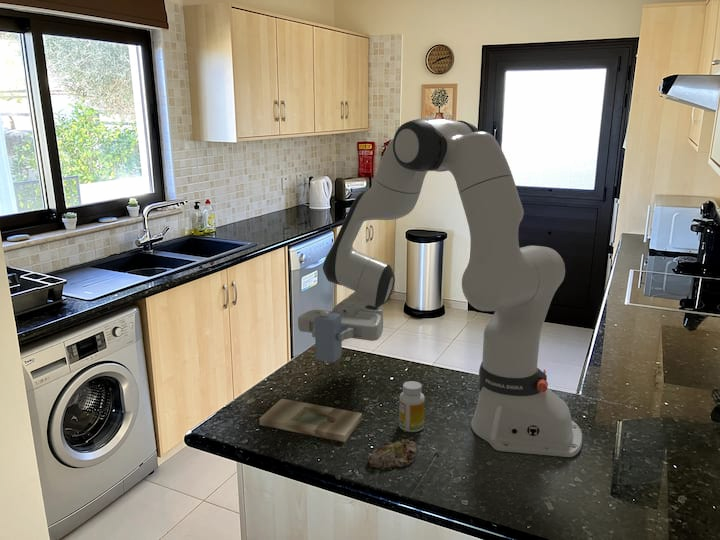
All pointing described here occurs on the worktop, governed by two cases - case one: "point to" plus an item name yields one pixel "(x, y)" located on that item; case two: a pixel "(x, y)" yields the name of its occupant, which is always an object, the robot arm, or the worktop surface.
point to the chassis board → (311, 419)
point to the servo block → (327, 336)
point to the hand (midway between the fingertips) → (326, 336)
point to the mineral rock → (393, 454)
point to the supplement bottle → (411, 407)
